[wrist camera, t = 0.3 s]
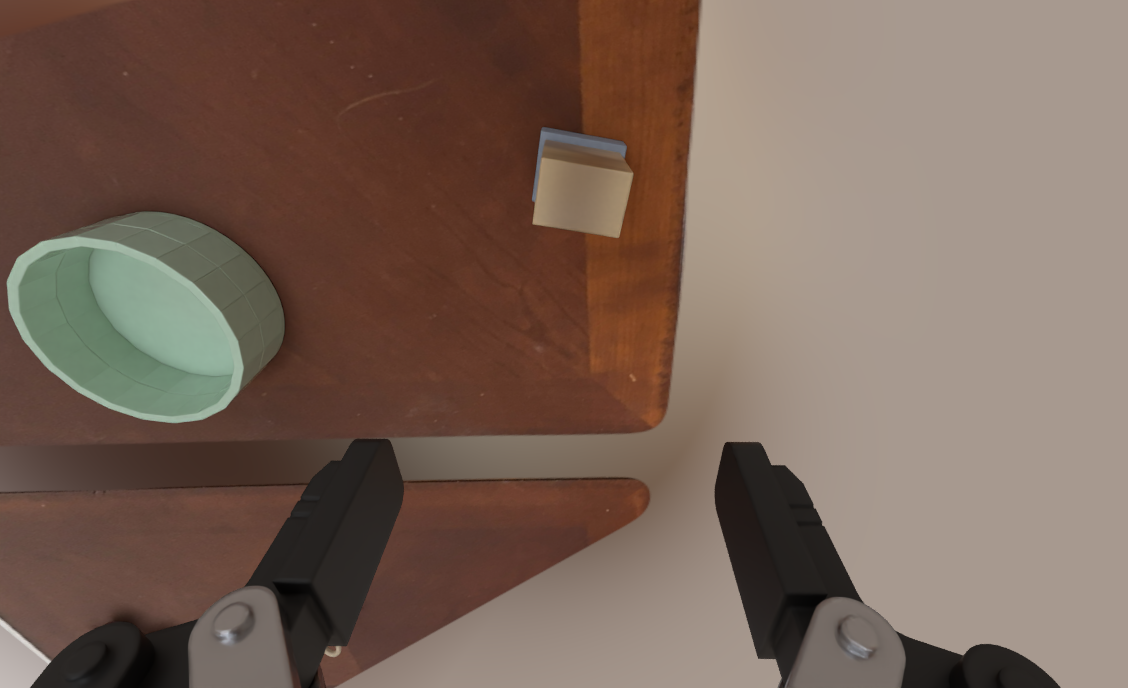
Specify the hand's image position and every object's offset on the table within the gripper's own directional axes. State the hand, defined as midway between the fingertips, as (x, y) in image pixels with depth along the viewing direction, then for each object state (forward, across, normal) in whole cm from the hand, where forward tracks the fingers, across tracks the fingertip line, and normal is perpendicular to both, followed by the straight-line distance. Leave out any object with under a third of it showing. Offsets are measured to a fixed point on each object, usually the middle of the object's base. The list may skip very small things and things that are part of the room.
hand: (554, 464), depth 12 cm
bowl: (+21, +28, +7) cm, 36 cm away
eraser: (+23, 0, -2) cm, 23 cm away
